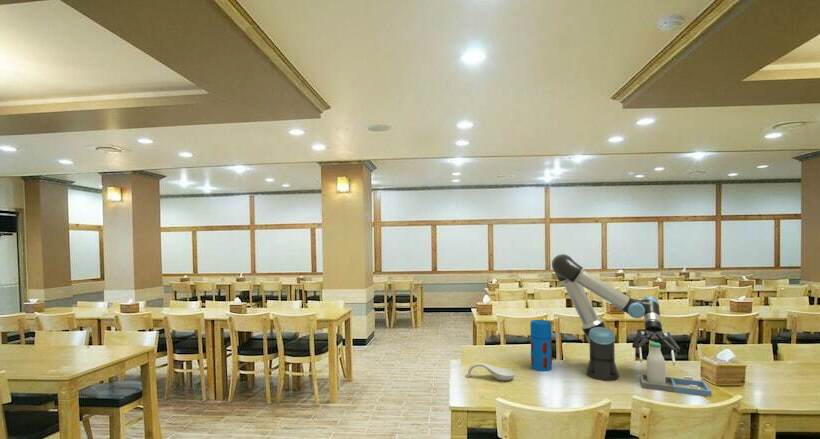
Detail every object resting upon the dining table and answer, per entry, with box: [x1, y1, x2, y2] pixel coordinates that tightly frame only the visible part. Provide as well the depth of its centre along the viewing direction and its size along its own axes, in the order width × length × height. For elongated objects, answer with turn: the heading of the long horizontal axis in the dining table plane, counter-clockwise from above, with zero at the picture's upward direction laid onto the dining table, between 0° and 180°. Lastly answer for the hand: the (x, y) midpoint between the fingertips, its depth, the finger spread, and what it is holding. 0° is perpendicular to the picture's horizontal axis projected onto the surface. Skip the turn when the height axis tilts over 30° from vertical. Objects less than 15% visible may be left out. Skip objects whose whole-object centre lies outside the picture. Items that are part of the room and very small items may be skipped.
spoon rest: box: [467, 362, 516, 382], centre depth 212 cm, size 24×12×7 cm, turn 79°
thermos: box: [529, 319, 553, 372], centre depth 227 cm, size 11×11×25 cm
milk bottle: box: [646, 341, 667, 385], centre depth 201 cm, size 8×8×20 cm
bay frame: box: [639, 373, 712, 397], centre depth 198 cm, size 27×14×4 cm, turn 65°
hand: (657, 362), depth 200 cm, fingers open, 13 cm apart
